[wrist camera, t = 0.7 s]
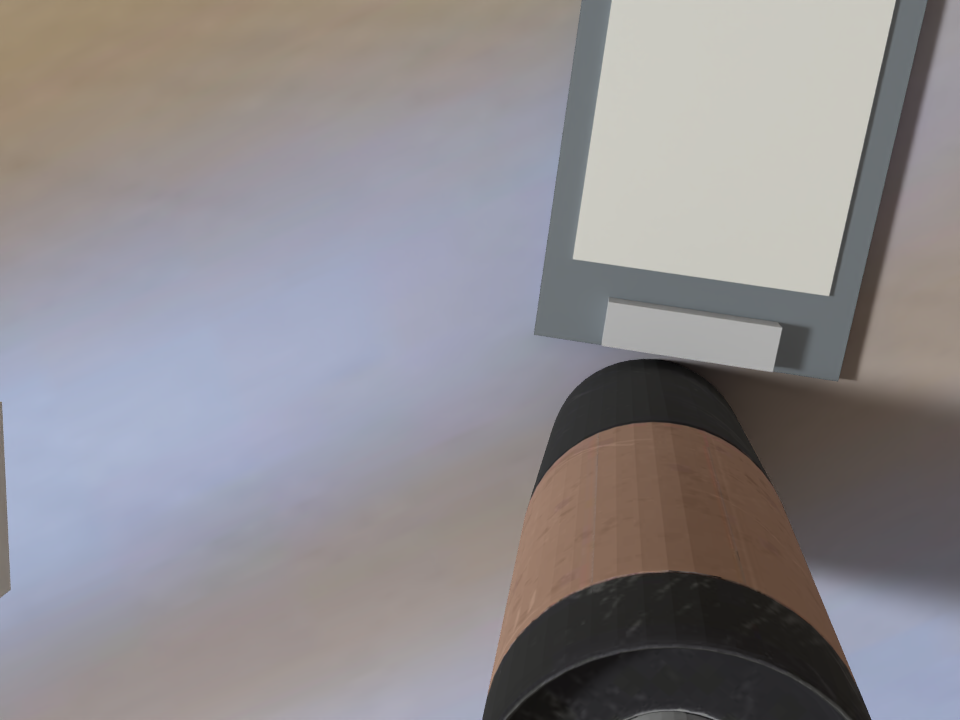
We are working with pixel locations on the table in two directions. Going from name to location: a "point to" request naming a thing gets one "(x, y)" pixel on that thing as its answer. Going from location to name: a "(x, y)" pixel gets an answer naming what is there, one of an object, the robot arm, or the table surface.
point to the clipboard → (724, 176)
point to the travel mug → (661, 571)
